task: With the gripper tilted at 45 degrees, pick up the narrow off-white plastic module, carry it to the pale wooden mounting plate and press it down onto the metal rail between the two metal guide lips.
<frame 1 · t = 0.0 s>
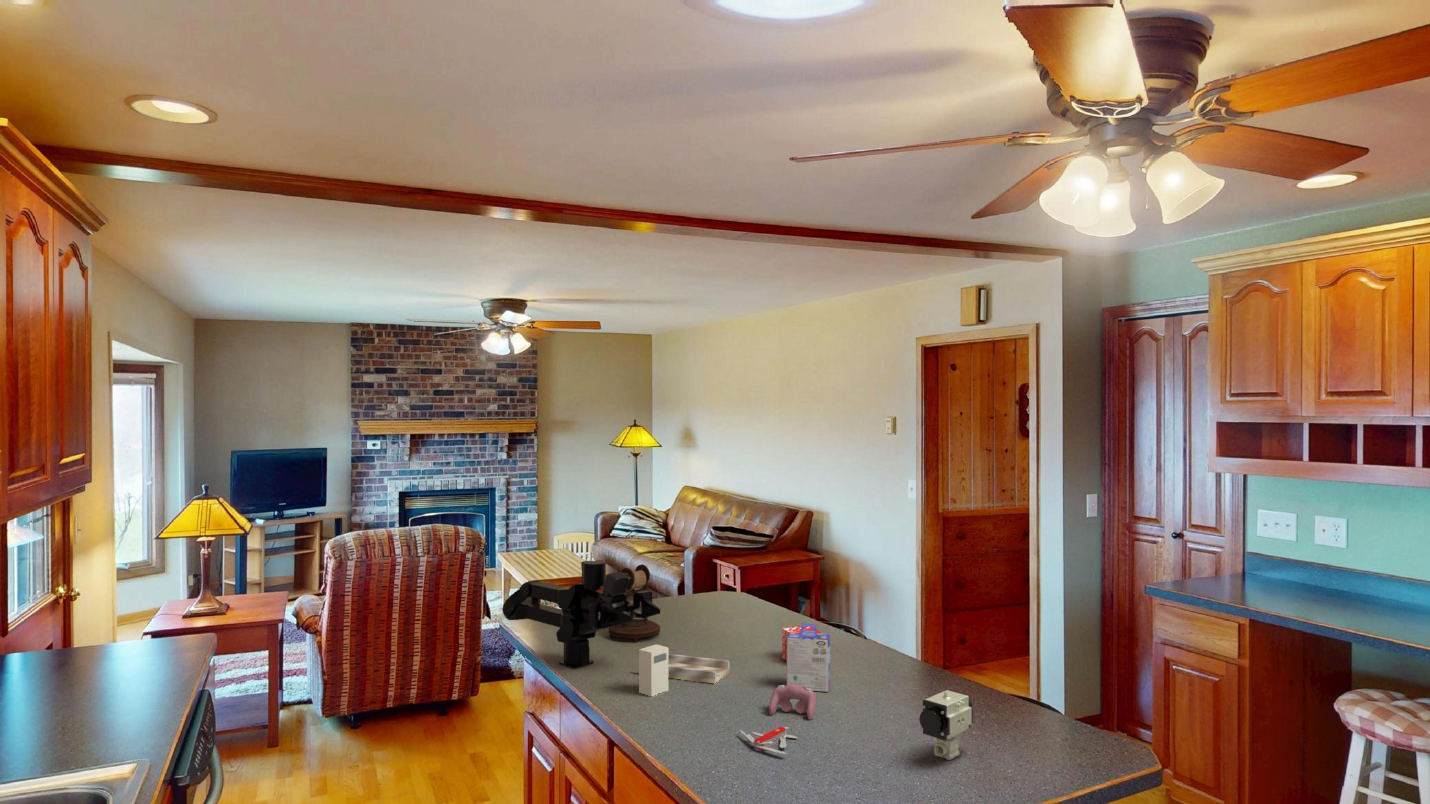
hand: (646, 614, 197), 17 cm above the kitchen island, tool horizontal, fingers open, 9 cm apart
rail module: (653, 692, 192), on the kitchen island
swiss army knife: (773, 743, 163), on the kitchen island
ink cartridge box: (808, 688, 195), on the kitchen island
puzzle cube: (802, 662, 216), on the kitchen island
wooden figurine: (634, 636, 240), on the kitchen island
video game controller: (792, 714, 179), on the kitchen island
mounting rail: (684, 673, 206), on the kitchen island
pneumatic valve: (948, 757, 157), on the kitchen island
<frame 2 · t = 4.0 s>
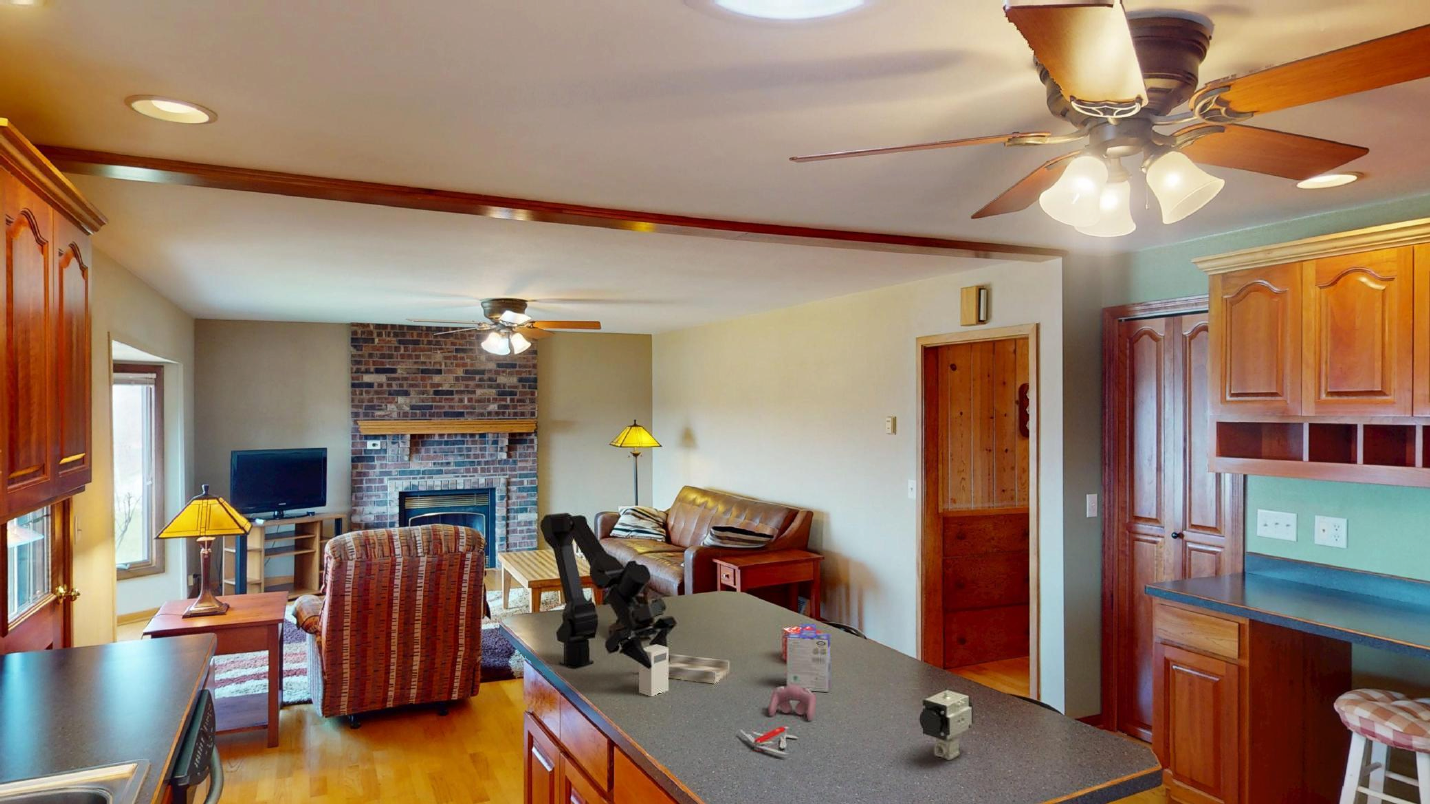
hand: (659, 664, 191), 7 cm above the kitchen island, tool tilted 45°, fingers closed on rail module, 5 cm apart
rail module: (653, 692, 192), on the kitchen island, touching gripper
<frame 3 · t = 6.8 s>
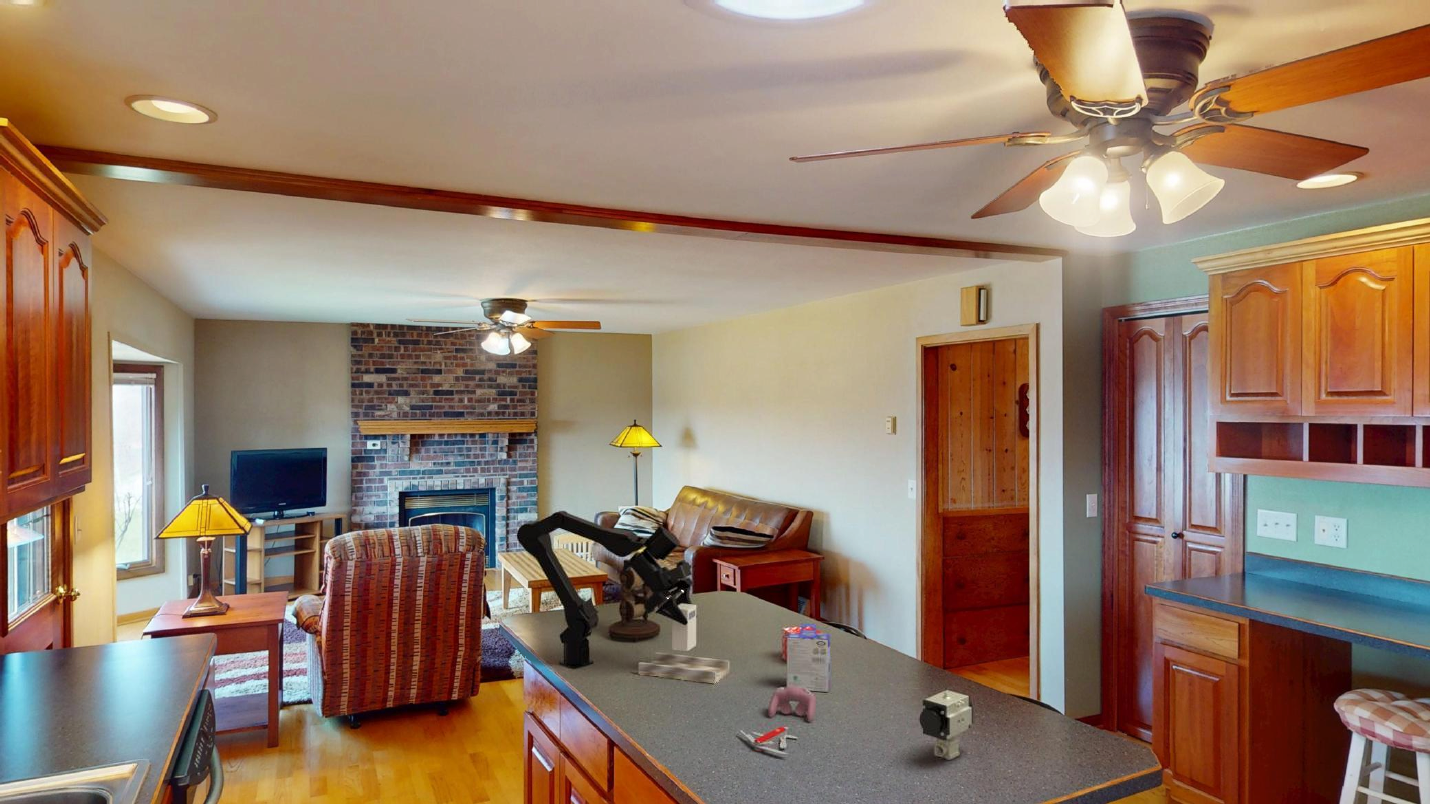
hand: (691, 621, 205), 13 cm above the kitchen island, tool tilted 45°, fingers closed on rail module, 5 cm apart
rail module: (684, 647, 206), point 6 cm above the kitchen island, touching gripper
when the fingers open (8 cm above the kitchen island, at t = 9.7 s): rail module stays where it is, resting on mounting rail.
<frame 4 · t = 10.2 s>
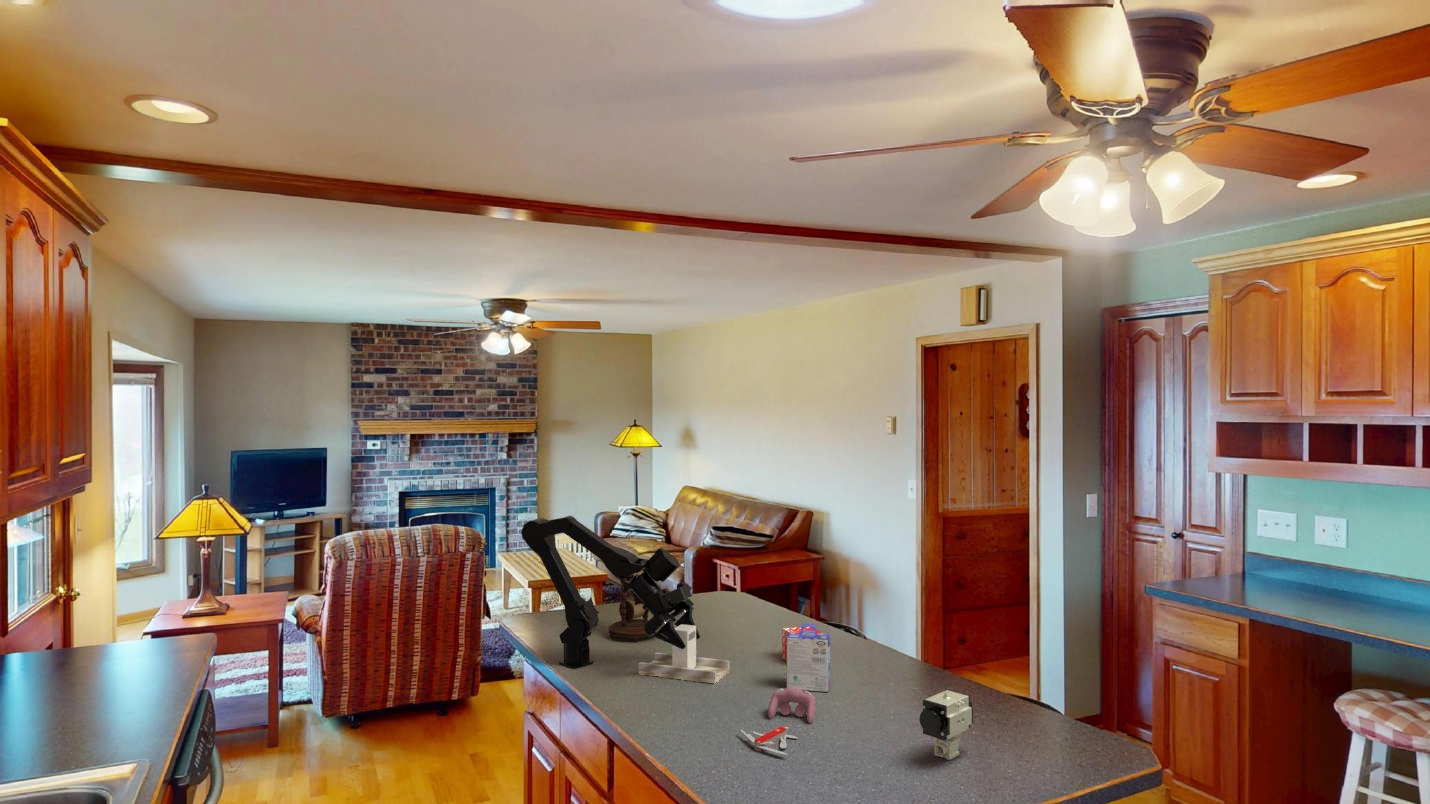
hand: (691, 643, 205), 8 cm above the kitchen island, tool tilted 45°, fingers open, 9 cm apart
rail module: (684, 668, 206), point 1 cm above the kitchen island, touching mounting rail
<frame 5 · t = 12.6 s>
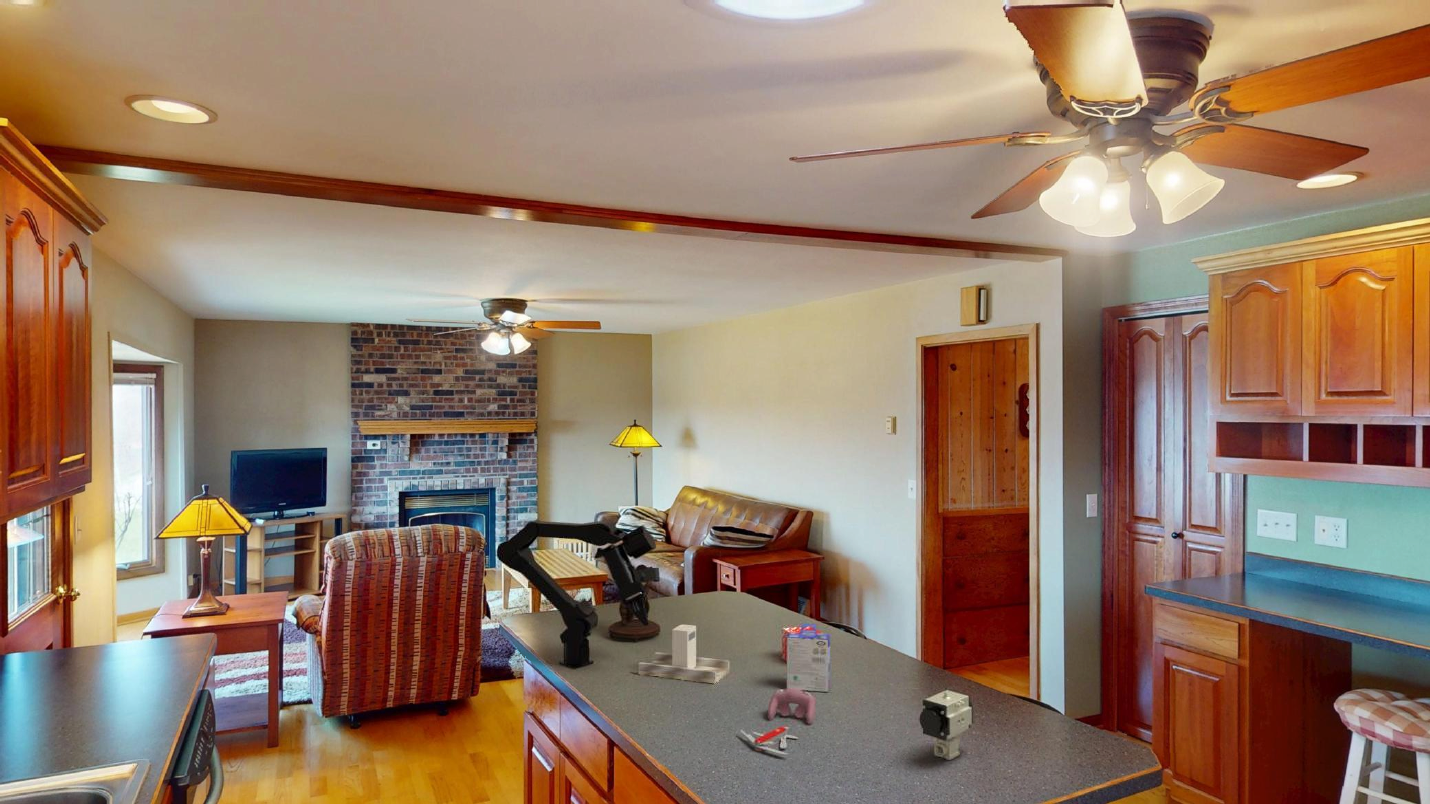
hand: (646, 624, 207), 12 cm above the kitchen island, tool tilted 30°, fingers open, 9 cm apart
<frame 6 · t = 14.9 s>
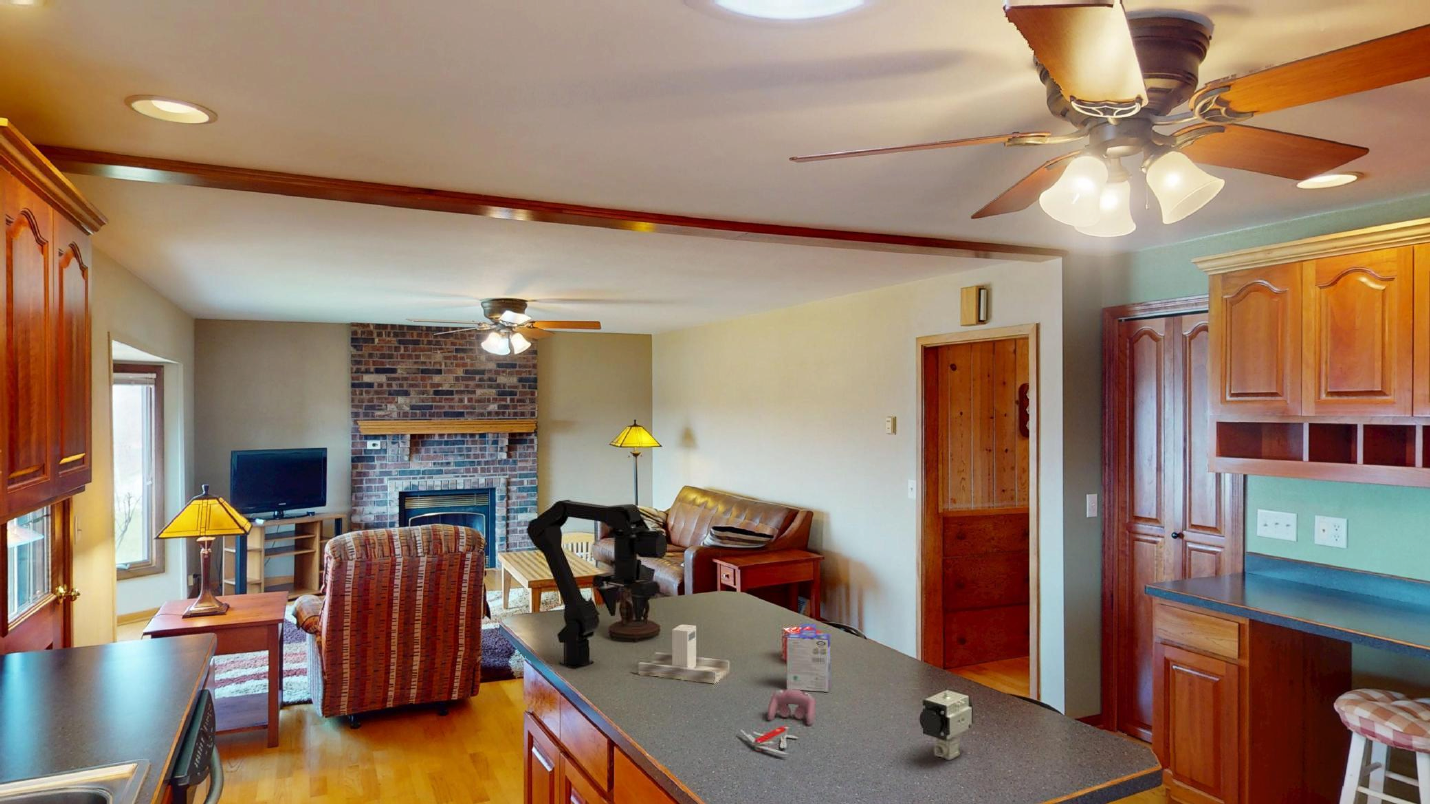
hand: (625, 618, 207), 13 cm above the kitchen island, tool pointing down, fingers open, 9 cm apart
at the end: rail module inside the target area on the mounting rail (0.0 cm from its centre), point 1.2 cm above the mounting rail's base; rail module tilted 0°; the gripper is holding nothing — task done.
